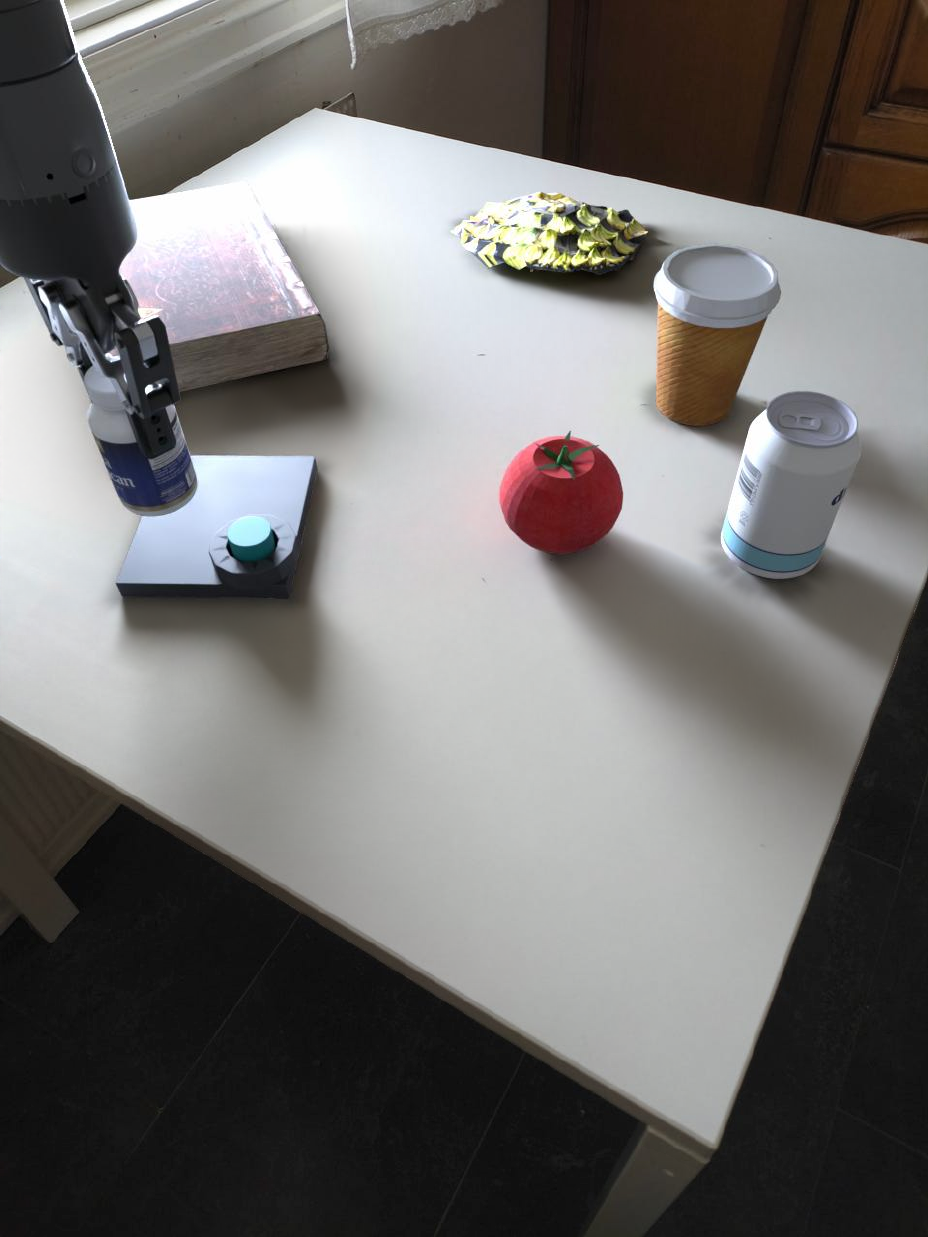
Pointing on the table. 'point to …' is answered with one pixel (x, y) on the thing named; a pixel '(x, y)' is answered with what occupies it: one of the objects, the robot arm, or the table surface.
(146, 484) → the pill bottle
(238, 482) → the scale
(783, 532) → the beverage can
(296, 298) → the hardback book
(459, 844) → the table surface
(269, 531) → the button
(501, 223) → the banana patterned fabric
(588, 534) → the tomato
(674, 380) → the disposable coffee cup
